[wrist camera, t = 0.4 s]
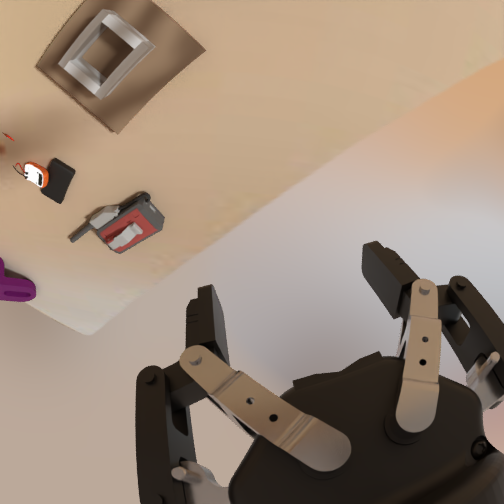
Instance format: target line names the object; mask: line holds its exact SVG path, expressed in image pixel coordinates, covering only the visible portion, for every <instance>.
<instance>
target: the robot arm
mask: <svg viewBox="0 0 504 504" xmlns="http://www.w3.org/2000/svg"><path fill="white" fill-rule="evenodd" d="M362 273H363V276H364V278H365V279H366V280H367V282H368V283H369V285H370V286H371V287H372V289H373V290H374V292H375V293H376V294H377V296H378V297H379V299H380V300H381V302H382V303H383V304H384V306H385V307H386V309H387V310H388V312H389V313H390V315H391V316H392V318H393V319H396V318H398V317H402V318H403V321H402V325H401V332H400V338H399V345H398V350H397V354H396V357H394V356H383V357H382V356H381V354H380V352H379V351H378V352H376V353H373V354H371V355H368V356H365V357H363V358H360V359H359V360H357V361H356V362H354V363H353V364H351V365H350V366H348V367H347V368H345V369H343V370H342V371H339V372H332V373H322V374H314V375H311V376H307V377H304V378H301V379H297V380H293V386H294V387H292V388H290V389H289V390H287V391H286V392H284V393H283V394H282V395H281V396H280V397H278V396H277V395H275V394H274V393H272V392H271V391H269V390H268V389H266V388H265V387H263V386H262V385H261V384H259V383H258V382H256V381H255V380H253V379H252V378H251V377H249V376H248V375H246V374H245V373H244V372H242V371H235V370H234V369H232V368H231V367H230V363H229V355H228V348H227V340H226V331H225V323H224V315H223V311H222V307H221V304H220V302H219V299H218V296H217V294H216V291H215V289H214V286H213V285H212V284H211V285H207V286H203V287H199V288H198V298H197V299H192V300H190V302H189V304H188V306H187V308H186V309H187V310H186V317H187V318H186V349H185V351H184V352H183V353H182V355H181V356H180V360H179V361H178V362H176V363H174V364H173V365H170V366H168V367H166V368H164V369H161V368H160V367H158V366H148V367H146V368H144V369H143V370H142V371H141V372H140V373H139V374H138V376H137V380H136V414H135V415H136V417H135V418H136V419H135V421H136V423H135V427H136V460H137V475H138V487H139V497H140V503H141V504H504V454H503V453H501V452H500V451H498V450H497V449H496V448H495V447H493V446H492V445H491V444H490V443H489V442H488V440H487V438H486V436H485V433H484V428H483V412H484V411H486V410H487V409H493V408H495V407H497V406H498V405H499V404H500V403H501V402H502V401H503V400H504V324H503V322H502V321H501V320H500V318H499V317H498V315H497V314H496V313H495V312H494V310H493V309H492V308H491V306H490V305H489V304H488V303H487V301H486V300H485V299H484V298H483V296H482V295H481V294H480V293H479V292H478V290H477V289H476V288H475V287H474V286H473V285H472V283H471V282H470V281H469V280H468V279H467V278H465V277H463V276H453V277H452V278H451V279H450V282H449V284H448V285H439V286H436V285H435V284H434V283H433V282H432V281H430V280H427V279H420V278H419V277H418V276H417V275H416V274H415V273H414V271H413V270H412V269H411V268H410V267H409V266H408V265H407V264H406V263H405V262H404V261H403V259H402V258H400V256H399V255H398V254H397V253H396V252H395V251H393V250H391V249H389V248H387V247H386V248H384V247H383V246H382V245H381V244H380V243H379V242H378V241H374V242H370V243H367V244H364V245H363V252H362ZM461 314H463V315H464V317H465V318H466V319H467V321H468V322H469V324H470V328H469V327H468V325H467V324H466V322H465V321H464V320H463V318H462V317H461ZM441 331H442V332H443V334H444V336H445V337H446V339H447V340H448V342H449V344H450V345H451V347H452V349H453V350H454V352H455V354H456V355H457V357H458V358H459V360H460V362H461V364H462V366H463V368H464V369H465V371H466V373H467V376H466V382H467V385H466V386H464V385H462V384H459V383H457V382H455V381H452V380H450V379H448V378H445V377H443V376H441V375H439V364H440V351H441ZM204 398H207V399H208V400H209V401H210V402H211V403H212V404H214V405H215V406H216V407H217V408H218V409H219V410H220V411H221V412H223V413H224V414H225V415H226V416H227V417H228V418H229V419H231V420H232V421H233V422H234V423H235V424H236V425H237V426H238V427H239V428H240V429H242V430H243V431H244V432H245V433H246V434H248V435H249V436H250V437H252V438H253V439H254V442H253V443H252V445H251V446H250V448H249V450H248V452H247V453H246V455H245V457H244V459H243V460H242V462H241V464H240V465H239V467H238V468H237V470H236V472H235V473H234V475H233V477H232V478H231V481H230V483H229V487H222V486H220V485H219V484H218V483H217V482H216V480H215V478H214V475H213V474H212V472H211V471H210V470H209V469H207V468H206V467H204V466H201V465H199V464H197V460H196V454H195V448H194V440H193V433H192V425H191V417H190V409H189V405H191V404H193V403H195V402H198V401H199V400H202V399H204Z"/></svg>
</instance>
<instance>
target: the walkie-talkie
mask: <svg viewBox="0 0 504 504" xmlns="http://www.w3.org/2000/svg"><path fill="white" fill-rule="evenodd" d="M150 199H151V197H150V195H149V194H148V193H143V194H141V195H139V196H138V197H136V198H135V199H133V200H132V201H130V202H129V203H127V204H126V205H124V206H119V205H118V206H106V207H104V208H103V209H102V210H100V211H99V212H98V213H96V214H94V215H93V216H92V217H91V219H90V221H89V223H88V225H87V226H85V227H84V228H83V229H82V230H80V231H79V232H78V233H77V234H76V235H74V236H73V237H72V238H71V239H70V241H71V242H72V243H74V242H75V241H76V240H78V239H79V238H80V237H81V236H83V235H84V234H85V233H87V232H88V231H89V230H90V229H93V228H94V227H95V228H96V229H97V235H98V237H99V238H100V239H101V240H102V241H103V242H105V243H106V244H107V245H108V247H109V248H110V250H113V251H114V252H116V253H118V254H121V253H123V252H125V251H126V250H128V249H130V248H131V247H133V246H135V245H137V244H138V243H139V242H141V241H144V240H145V239H146V238H148V237H150V236H153V235H154V234H155V233H158V232H160V231H161V230H162V228H163V223H164V218H165V217H164V216H163V215H162V214H161V213H160V212H159V210H158V209H157V208H156V207H155V206H154V205H153V204H152V203H151V201H150Z"/></svg>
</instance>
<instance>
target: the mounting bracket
mask: <svg viewBox="0 0 504 504" xmlns="http://www.w3.org/2000/svg"><path fill="white" fill-rule="evenodd" d="M35 297H36V287H35V284H34V283H33V282H31V281H29V280H25V279H18V278H9V277H5V276H4V262H3V260H2V258H1V257H0V300H6V301H17V302H25V301H30V300H32V299H34V298H35Z"/></svg>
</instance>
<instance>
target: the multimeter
mask: <svg viewBox="0 0 504 504" xmlns="http://www.w3.org/2000/svg"><path fill="white" fill-rule="evenodd" d="M3 134H4V133H3ZM4 135H5V136H6V137H9V138H10V139H11V140H13V139H12V138H11V137H10V136H8V135H7V134H4ZM13 141H14V140H13ZM17 164H19V163H17ZM17 164H16V165H17ZM19 165H20V164H19ZM13 167H14V166H13ZM15 167H16V166H15ZM15 167H14V168H15ZM20 167H21V165H20ZM21 169H22V167H21ZM15 170H16V169H15ZM16 171H17V170H16ZM22 171H23V169H22ZM17 172H18V171H17ZM23 172H24V175H23V174H21V173H19V172H18V173H19V174H21V175H23V176H24V177H25V179H27V180H30V181H32V182H33V183H35V184H37V185H38V186H39V187H41V188H42V190H41V192H42V194H44V195H45V196H47V197H49V198H50V199H52V200H54V201H55V202H57V203H59V204H61V203H62V201H63V200H64V197H65V194H66V191H67V189H68V187H69V184H70V182H71V180H72V178H73V176H74V174H75V169H73V168H71V167H70V166H68V165H66V164H65V163H63V162H62V161H60V160H59V159H57V158H55V159H54V160H53V161H52V162H51V164H50V167H49V170H48V171H47V170H46V169H45V168H43V167H41V166H40V165H38V164H36V163H33V162H28V163H26V165H25V169H24V171H23Z"/></svg>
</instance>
